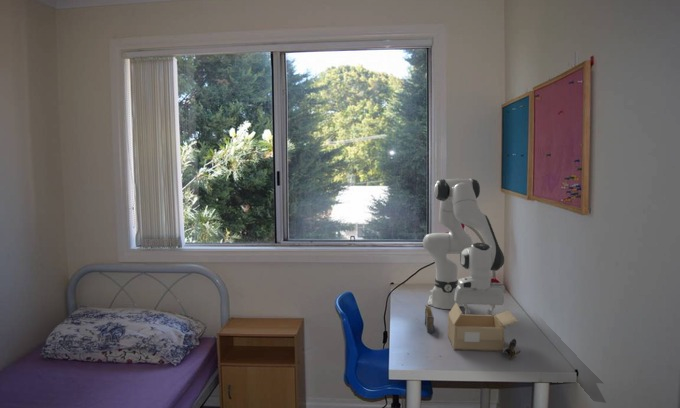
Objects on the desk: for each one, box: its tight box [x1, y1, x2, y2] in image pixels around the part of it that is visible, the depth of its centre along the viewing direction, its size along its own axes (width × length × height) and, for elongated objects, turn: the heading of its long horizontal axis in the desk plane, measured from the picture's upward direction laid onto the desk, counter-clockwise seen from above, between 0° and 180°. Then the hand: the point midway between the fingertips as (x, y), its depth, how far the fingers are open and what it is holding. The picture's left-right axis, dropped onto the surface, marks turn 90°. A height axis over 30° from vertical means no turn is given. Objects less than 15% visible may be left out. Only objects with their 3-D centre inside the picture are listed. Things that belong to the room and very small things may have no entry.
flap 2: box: [494, 310, 519, 328], centre depth 202 cm, size 13×1×6 cm
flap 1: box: [448, 303, 463, 325], centre depth 203 cm, size 13×1×6 cm
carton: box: [447, 313, 505, 352], centre depth 203 cm, size 16×20×10 cm
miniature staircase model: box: [424, 304, 434, 334], centre depth 221 cm, size 11×3×10 cm, turn 175°
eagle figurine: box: [501, 338, 521, 361], centre depth 191 cm, size 8×7×9 cm
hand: (478, 314), depth 202 cm, fingers open, 8 cm apart
